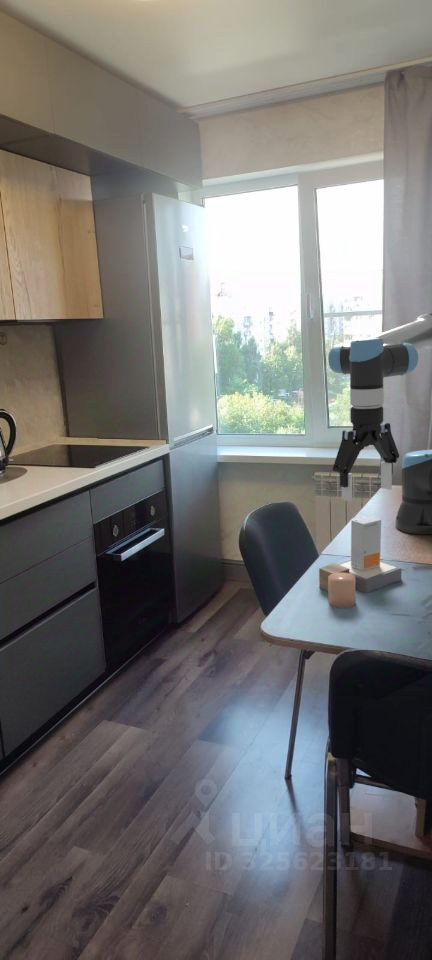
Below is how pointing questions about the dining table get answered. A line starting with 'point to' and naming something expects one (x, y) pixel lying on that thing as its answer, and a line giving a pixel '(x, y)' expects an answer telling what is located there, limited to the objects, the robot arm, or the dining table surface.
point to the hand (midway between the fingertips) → (367, 494)
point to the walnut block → (327, 571)
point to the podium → (374, 576)
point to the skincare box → (365, 543)
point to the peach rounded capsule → (341, 590)
